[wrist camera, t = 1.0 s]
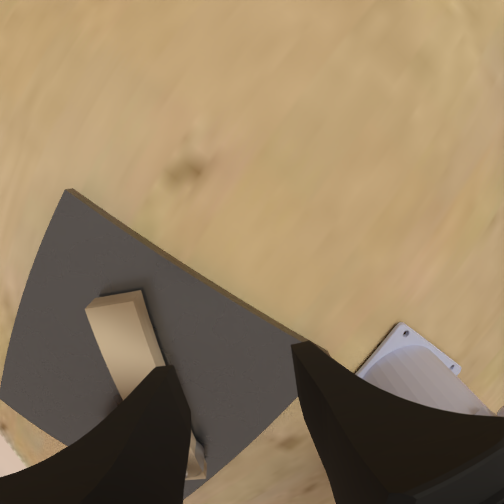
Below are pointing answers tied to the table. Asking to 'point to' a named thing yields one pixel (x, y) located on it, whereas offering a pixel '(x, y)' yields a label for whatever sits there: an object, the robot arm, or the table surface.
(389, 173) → the table surface
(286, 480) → the table surface
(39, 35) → the table surface
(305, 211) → the table surface
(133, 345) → the link
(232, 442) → the base plate
